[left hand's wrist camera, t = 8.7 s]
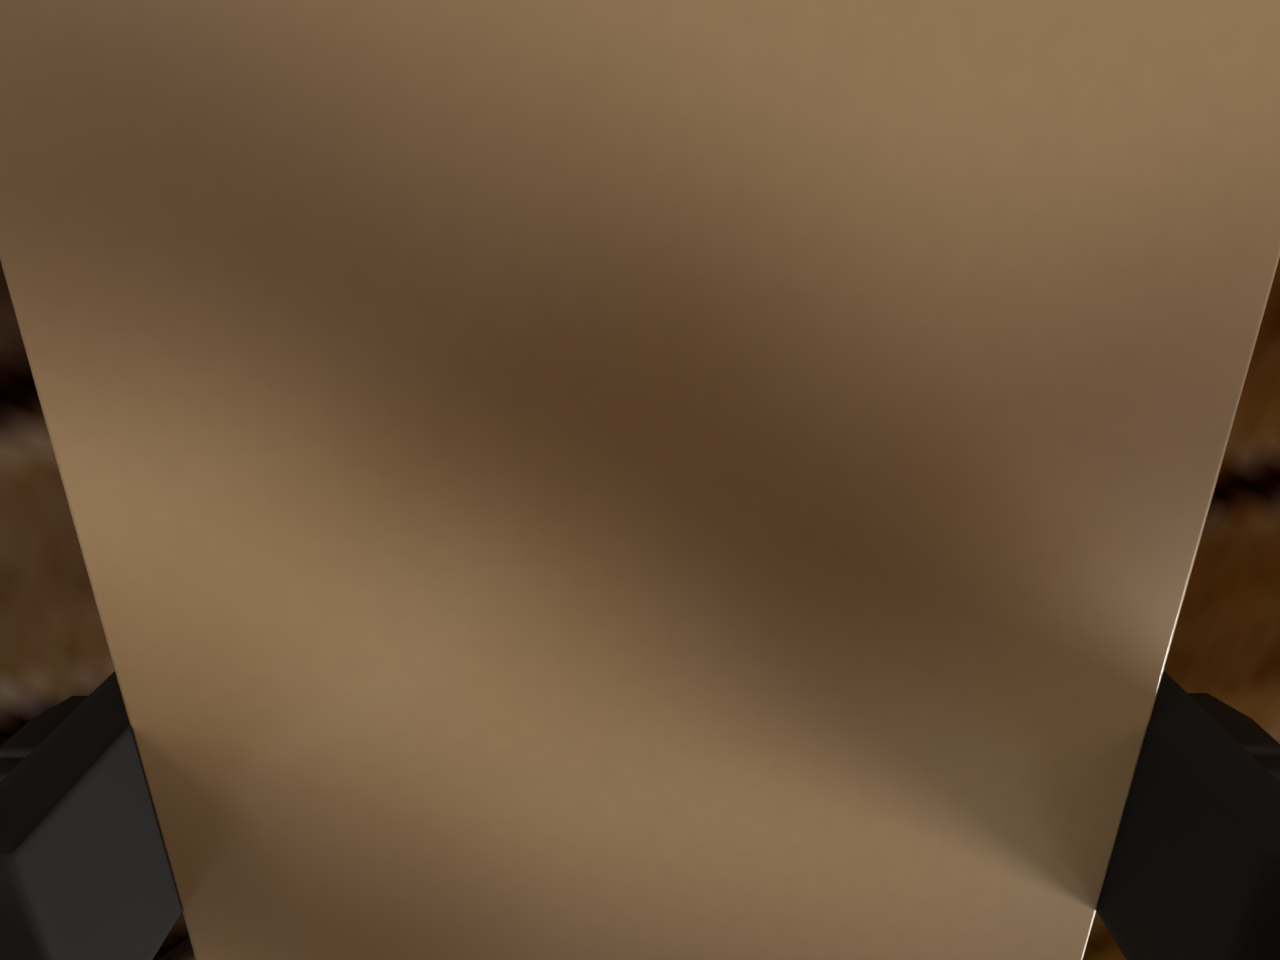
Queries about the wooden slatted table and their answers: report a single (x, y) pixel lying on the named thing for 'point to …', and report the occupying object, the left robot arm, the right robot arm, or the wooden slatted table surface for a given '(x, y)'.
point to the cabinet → (639, 448)
